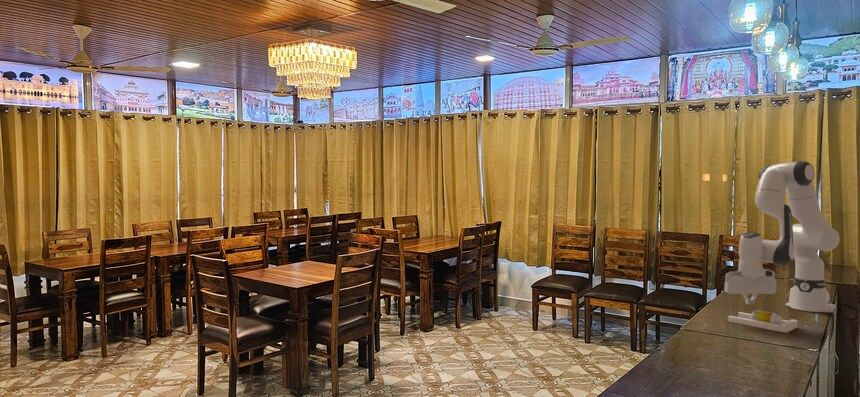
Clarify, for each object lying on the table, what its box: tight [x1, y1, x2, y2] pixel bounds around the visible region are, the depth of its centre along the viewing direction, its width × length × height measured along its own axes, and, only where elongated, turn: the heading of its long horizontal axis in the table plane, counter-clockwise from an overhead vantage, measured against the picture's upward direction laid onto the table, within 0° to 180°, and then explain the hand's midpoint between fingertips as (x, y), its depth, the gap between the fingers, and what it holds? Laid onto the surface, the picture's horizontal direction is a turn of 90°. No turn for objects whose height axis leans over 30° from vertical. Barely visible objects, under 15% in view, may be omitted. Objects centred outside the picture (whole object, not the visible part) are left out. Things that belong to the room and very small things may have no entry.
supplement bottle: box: [751, 309, 783, 325], centre depth 231 cm, size 6×6×10 cm
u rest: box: [727, 311, 798, 334], centre depth 233 cm, size 12×22×3 cm, turn 39°
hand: (749, 303), depth 236 cm, fingers closed
